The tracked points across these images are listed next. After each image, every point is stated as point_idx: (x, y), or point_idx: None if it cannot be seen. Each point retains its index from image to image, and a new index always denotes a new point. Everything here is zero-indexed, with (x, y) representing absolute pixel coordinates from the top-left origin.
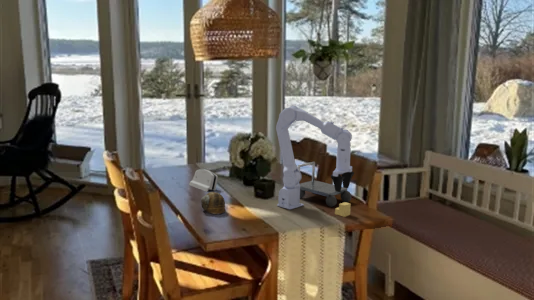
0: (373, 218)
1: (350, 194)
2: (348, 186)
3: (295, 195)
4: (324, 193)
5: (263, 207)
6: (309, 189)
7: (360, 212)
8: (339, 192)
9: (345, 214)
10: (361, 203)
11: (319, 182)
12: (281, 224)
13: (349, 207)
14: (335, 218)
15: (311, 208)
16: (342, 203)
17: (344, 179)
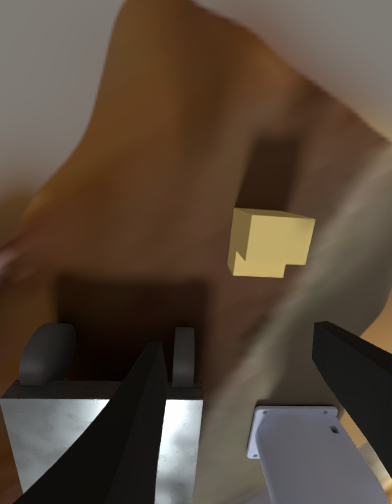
0: (202, 65)
1: (31, 344)
2: (151, 351)
3: (331, 470)
4: (200, 418)
5: None
6: (193, 490)
7: (160, 188)
8: (94, 387)
9: (278, 211)
10: (21, 269)
11: None
12: None
13: (255, 213)
14: (330, 228)
15: (266, 370)
16: (283, 256)
17: (150, 470)
